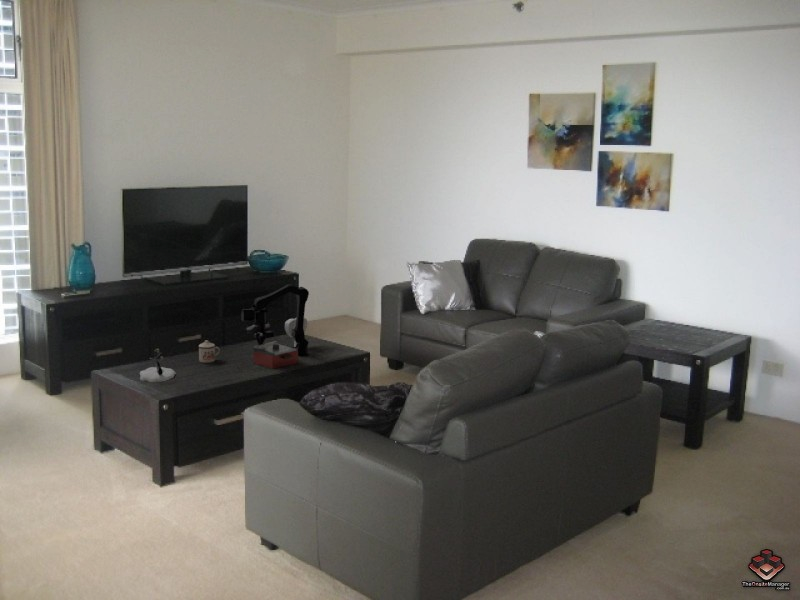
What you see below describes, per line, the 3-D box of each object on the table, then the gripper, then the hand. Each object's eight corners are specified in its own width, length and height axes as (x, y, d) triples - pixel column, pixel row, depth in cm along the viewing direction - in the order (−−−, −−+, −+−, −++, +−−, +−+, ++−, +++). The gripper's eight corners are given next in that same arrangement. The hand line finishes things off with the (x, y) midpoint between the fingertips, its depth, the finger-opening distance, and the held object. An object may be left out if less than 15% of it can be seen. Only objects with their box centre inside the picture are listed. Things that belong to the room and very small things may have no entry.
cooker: (279, 356, 501) (279, 342, 499) (300, 363, 489) (300, 348, 488) (253, 362, 488) (253, 348, 486) (275, 369, 476) (275, 354, 474)
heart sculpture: (302, 344, 530) (302, 315, 526) (308, 345, 527) (308, 316, 523) (283, 349, 518) (283, 319, 514) (289, 350, 515) (289, 321, 511)
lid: (275, 347, 500) (275, 339, 499) (296, 353, 488) (296, 345, 487) (254, 352, 489) (254, 344, 488) (274, 359, 477) (274, 350, 476)
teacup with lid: (202, 363, 483) (202, 343, 481) (196, 360, 491) (195, 339, 488) (222, 360, 490) (222, 340, 488) (216, 357, 497) (216, 337, 495)
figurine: (143, 369, 468) (142, 340, 463) (177, 369, 469) (176, 341, 464) (135, 384, 449) (133, 354, 444) (171, 384, 450) (170, 355, 445)
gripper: (238, 319, 493) (238, 346, 496) (259, 325, 481) (260, 352, 485) (253, 316, 502) (253, 342, 505) (275, 322, 490) (275, 348, 493)
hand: (260, 346), depth 496 cm, fingers closed
